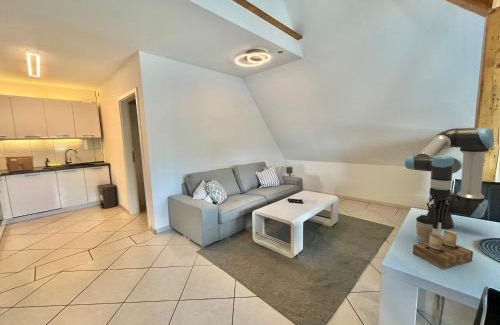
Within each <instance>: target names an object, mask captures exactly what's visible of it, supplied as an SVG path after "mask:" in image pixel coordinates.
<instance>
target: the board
mask: <svg viewBox="0 0 500 325" xmlns="http://www.w3.org/2000/svg"><path fill="white" fill-rule="evenodd" d="M412 254H413V255H414V256H417V257H418V258H420V259H422V260H424V261H425V262H428V263H429V264H432V265H434V266H436V267H437V268H440V269H441V270H446V269H450V268H452V267H456V266H460V265H463V264H466V263H471V262H473V256H474V251H473V250H470V249H468V248H465V247H463V246H460V245H458V244H456V249H455V250H450V249H448V248H446V247H443V239H442V250H441V253H439V254H436V253H434V252H432V251H430V250H429V241H427V242H423V243H419V242H418V243H415V244H413V245H412Z"/></svg>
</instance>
